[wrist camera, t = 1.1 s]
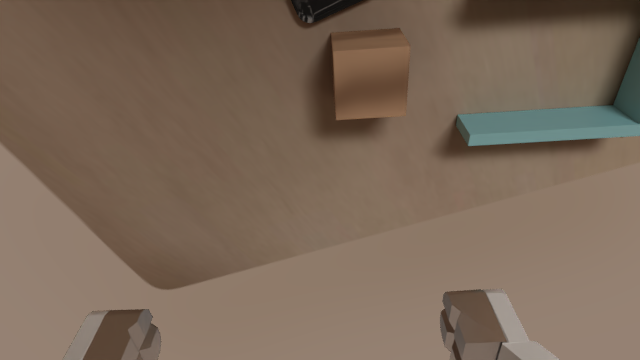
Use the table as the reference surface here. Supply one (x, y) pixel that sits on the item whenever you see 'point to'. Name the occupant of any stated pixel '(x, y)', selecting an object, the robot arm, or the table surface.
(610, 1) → the table surface
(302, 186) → the table surface
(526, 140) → the box
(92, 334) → the robot arm
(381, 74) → the walnut block
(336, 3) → the phone
